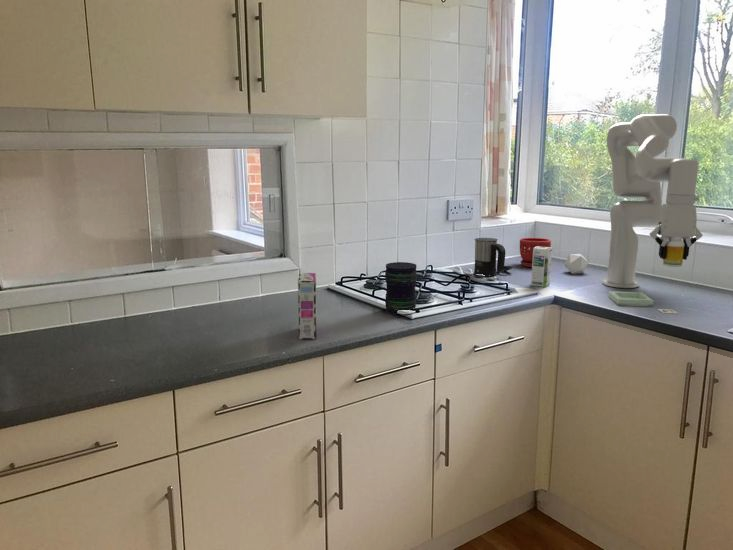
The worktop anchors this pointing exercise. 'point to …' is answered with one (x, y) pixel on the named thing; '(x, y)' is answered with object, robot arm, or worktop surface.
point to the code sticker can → (666, 311)
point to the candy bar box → (307, 306)
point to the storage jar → (400, 286)
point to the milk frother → (489, 257)
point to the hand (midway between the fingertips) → (673, 258)
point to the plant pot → (531, 248)
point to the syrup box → (541, 266)
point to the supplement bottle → (674, 252)
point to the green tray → (630, 298)
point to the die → (576, 263)
